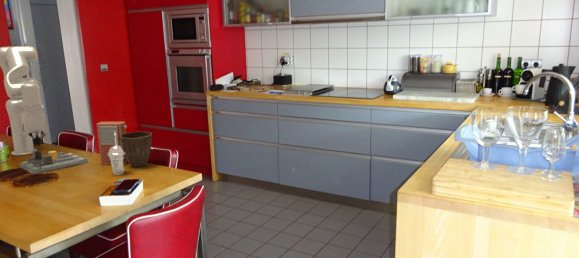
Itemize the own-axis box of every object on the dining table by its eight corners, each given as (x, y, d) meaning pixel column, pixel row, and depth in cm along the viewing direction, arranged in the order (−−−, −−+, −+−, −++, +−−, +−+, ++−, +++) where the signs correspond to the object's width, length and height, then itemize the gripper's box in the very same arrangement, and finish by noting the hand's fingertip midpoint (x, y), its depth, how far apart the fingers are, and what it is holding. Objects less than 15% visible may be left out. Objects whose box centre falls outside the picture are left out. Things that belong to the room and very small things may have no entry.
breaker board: (19, 166, 224) (17, 153, 222) (71, 156, 242) (70, 143, 241) (33, 174, 209) (31, 160, 208) (88, 162, 228) (86, 150, 226)
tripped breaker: (46, 161, 225) (45, 151, 224) (57, 159, 229) (55, 150, 228) (49, 162, 222) (48, 153, 221) (59, 160, 226) (58, 151, 225)
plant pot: (144, 170, 213) (142, 138, 210) (117, 169, 216) (114, 137, 213) (159, 162, 227) (157, 132, 224) (133, 160, 230) (130, 131, 227)
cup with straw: (106, 176, 205) (101, 134, 201) (114, 170, 214) (110, 130, 210) (123, 176, 204) (119, 134, 200) (131, 170, 213) (127, 130, 209)
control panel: (104, 161, 231) (131, 161, 229) (97, 164, 224) (125, 165, 223) (100, 121, 227) (127, 121, 225) (93, 123, 220) (121, 123, 218)
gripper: (46, 106, 223) (50, 141, 226) (12, 110, 212) (18, 147, 216) (51, 107, 218) (56, 143, 221) (17, 111, 207) (23, 149, 211)
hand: (37, 145), depth 218 cm, fingers closed
